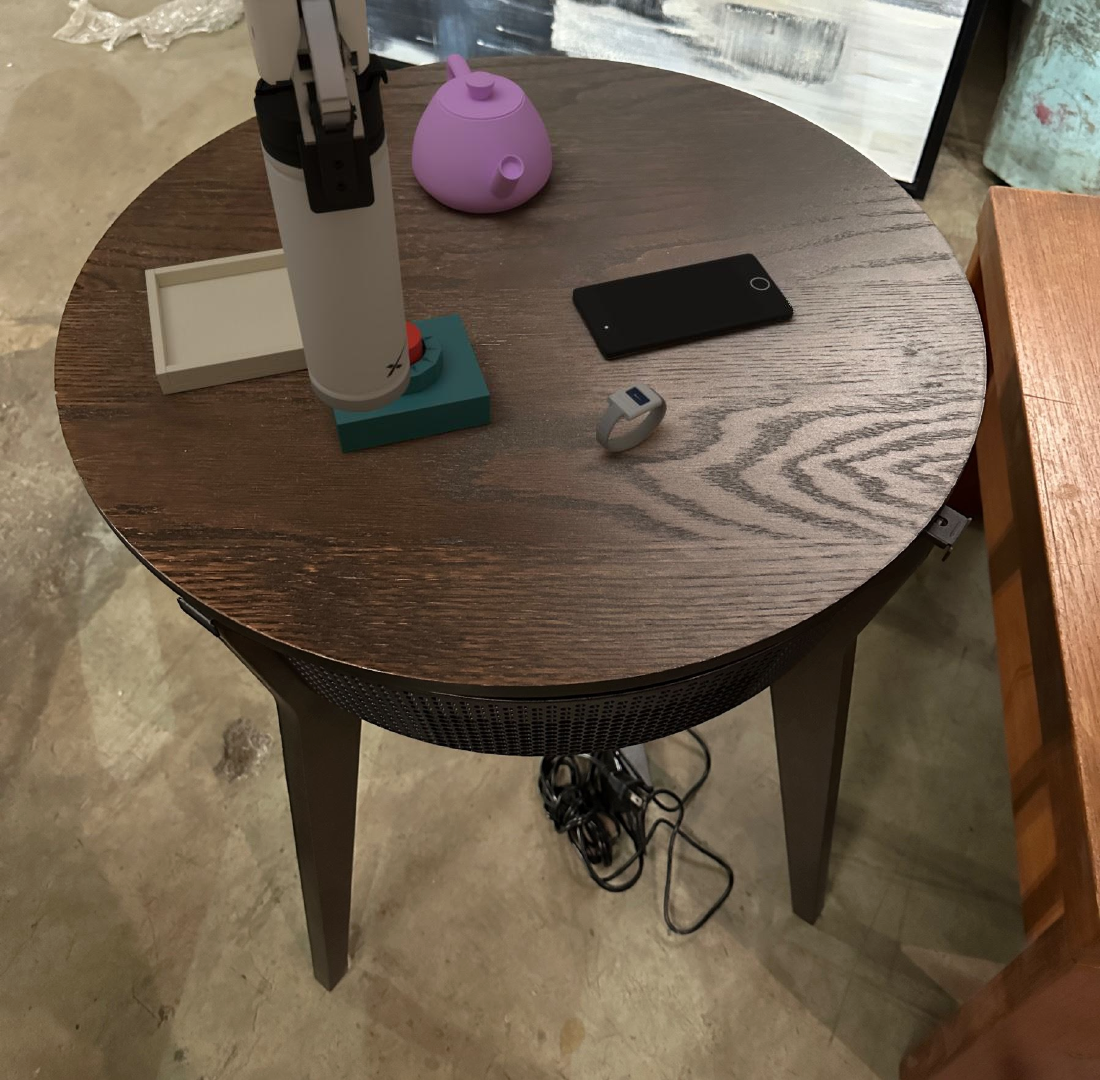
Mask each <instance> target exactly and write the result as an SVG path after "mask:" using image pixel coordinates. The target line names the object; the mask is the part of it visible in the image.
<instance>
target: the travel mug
mask: <svg viewBox="0 0 1100 1080" xmlns="http://www.w3.org/2000/svg"><path fill="white" fill-rule="evenodd" d="M340 54H341V50H340ZM297 57H298V62H299V68H307V67H312V65H311V60H310V55H309V54H301V55H298V56H297ZM341 59H342V56H341ZM342 64H343V62H342ZM355 78H356V85H357V91H358V97H359V103H360V110H361V116H362V122H363V126H365V127H366V130H367V136H368V145H369V153H370V162H371V170H372V179H373V188H374V196H375V202H374V204H373V205H371V206H369V207H364V208H357V209H349V210H342V211H335V212H328V213H320V214H316V213H314V212H312V211H311V209H310V205H309V201H308V196H307V190H306V184H305V178H304V173H303V167H302V161H301V156H300V150H299V144H298V138H297V134H303V133H302V128H301V123H300V117H299V112H298V107H297V101H296V96H295V91H294V85H293V81H292V79H291V77H290V80H282V81H276V85H271V84H269V83H267V82H266V81H265V80H263V79H262V78H261V77H260V78H259V79H258V80H257V81H256V85H255V89H254V97H253V105H254V110H255V111H254V112H255V115H256V120H257V121H256V122H257V126H258V128H259V129H258V130H259V136H260V146H261V150H262V154H263V160H264V164H265V169H266V170H265V171H266V175H267V179H268V185H269V189H270V194H271V198H272V204H273V208H274V212H275V218H276V224H277V227H278V232H279V238H280V242H281V247H282V248H283V252H284V257H285V262H286V266H287V271H288V276H289V281H290V286H291V290H292V295H293V300H294V305H295V310H296V314H297V319H298V324H299V329H300V334H301V338H302V343H303V348H304V353H305V358H306V362H307V367H308V368H307V371H308V376H309V381H310V387H311V389H312V391H313V393H314V395H315V396H316V397H317V398H318V399H319V400H320V401H321V402H323V403H324V404H325V405H327V406H329V407H330V408H331V407H333V408H335V409H338V410H342V411H347V412H367V411H373V410H377V409H380V408H383V407H385V406H387V405H389V404H391V403H393V402H394V401H395V400H397V399H398V398H399V397H400V396H401V395H402V394H403V393H404V392H405V390H406V388H407V387H408V385H409V382H410V378H411V370H410V361H409V351H408V341H407V331H406V322H407V321H406V313H405V303H404V294H403V284H402V274H401V263H400V254H399V244H398V234H397V224H396V215H395V205H394V195H393V186H392V176H391V165H390V156H389V155H390V154H389V147H388V142H387V141H388V136H387V130H386V127H385V120H384V108H383V103H382V98H381V89H380V88H381V87H380V83H381V80H382V82H383V84H384V85H388V84H389V76H388V73H387V69H386V66H385V65H384V63H383V61H382V60H381V58H380V57H379V56H378V54H376V53H371V54H370V53H369V64H368V66H367V67H366V69H365V70H364V71H363V72H362V73H361V74H360V75H357V73H356V71H355ZM306 87H307V92H308V98H309V103H310V109H311V106H312V102H318V101H317V92H316V86H315V83H314V84H306ZM311 110H312V109H311Z"/></svg>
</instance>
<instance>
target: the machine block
mask: <svg viewBox="0 0 1100 1080" xmlns="http://www.w3.org/2000/svg"><path fill="white" fill-rule="evenodd" d="M462 319H463V318H462V317H461V315H460V313H453V314H449V315H443V316H437V317H432V318H427V319H420V320H415V321H408V322H409V323H412V324H414V325H415V326H416V327H417V328H418V329H419V330H420V332H421V340H422V351H423V352H422V356H421V358H420V359H419V361H417V362H416V363H415V364H413V365H411V366H410V370H411V378H410V382H409V385H408V387H407V388H406V390H405V392H404V393H403V394H402V395H401V396H400V397H399V398H398V399H397V400H395V401H394V402H393V403H391V404H389V405H387V406H385V407H383V408H380V409H377V410H373V411H367V412H347V411H342V410H338V409H335V408H333V407H331V406H330V408H331V412H332V416H333V419H334V425H335V428H336V433H337V437H338V440H339V441H338V442H339V444H340V448H341V449H340V450H341V453H343V454H344V453H349V452H354V451H359V450H364V449H365V450H366V449H370V448H374V447H379V446H384V445H390V444H393V443H399V442H404V441H409V440H413V439H419V438H425V437H429V436H435V435H439V434H444V433H449V432H453V431H458V430H463V429H464V430H465V429H468V428H469V429H470V428H474V427H479V426H485V425H488V424H491V423H492V414H491V413H492V411H491V409H492V407H491V393H490V390H489V388H488V385H487V382H486V381H485V377H484V375H483V372H482V369H481V366H480V365H479V362H478V359H477V357H476V354H475V351H474V348H473V346H472V343H471V341H470V338H469V335H468V333H467V330H466V328H465V325H464V322H463V320H462Z"/></svg>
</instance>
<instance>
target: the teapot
mask: <svg viewBox="0 0 1100 1080" xmlns="http://www.w3.org/2000/svg"><path fill="white" fill-rule="evenodd" d="M445 71H446V79H447V81H446V82H445V83H444V84H442V85H441V86H440V87H439V88H438V90H437V91H436V92H435V94H434V95H433V96H432V98H431V100H430V102H429V103H428V105H427V107H426V108H425V110H424V112H423V113H422V115H421V117H420V120H419V122H418V124H417V127H416V130H415V132H414V137H413V141H412V148H411V149H412V150H411V151H412V152H411V166H412V172H413V174H414V176H415V178H416V180H417V181H418V183H419V185H420V186H421V187H422V188H423V189H424V190H425V192H427V193H428V194H429V195H430V196H432V197H433V198H434V199H436V200H437V201H438V202H439V203H441V204H443V205H444V206H446V207H449V208H451V209H454V210H457V211H460V212H464V213H471V214H493V213H501V212H505V211H509V210H512V209H515V208H517V207H519V206H521V205H523V204H525V203H526V202H528V201H529V200H530V199H532V198H533V197H534V196H535V195H536V194H537V193H538V192H539V191H540V190H541V189H542V188H543V187H544V186H545V184H547V182H548V180H549V178H550V176H551V173H552V170H553V152H552V146H551V145H552V144H551V142H550V138H549V133H548V130H547V129H546V125H545V123H544V121H543V119H542V117H541V115H540V114H539V112H538V111H537V109H536V107H535V105H534V104H533V103H532V101H531V99H530V98H529V97H528V95H527V94H526V92H525V91H524V90H523V89H522V88H521V86H519V85H518V84H517V83H516V82H515V81H513V80H511V79H509V78H507V77H504V76H500V75H496V74H492V73H490V72H488V71H483V70H482V71H479V70H478V71H473V72H472V70H471V67H470V66H469V65H468V63H467V61H466V60H465V58H464V57H463V56H462V55H461V54H458V53H451V54H449V55H448V56H447V58H446V61H445Z"/></svg>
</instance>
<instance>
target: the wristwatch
mask: <svg viewBox="0 0 1100 1080" xmlns="http://www.w3.org/2000/svg"><path fill="white" fill-rule="evenodd" d="M606 402H607V404H608V405H610V406H609V407H608V408H607V409H606V410H605V412H604V413H603V415H602V416H601V418H600V420H599V421H598V424H597V427H596V429H595V439H596V441H597V442H598V443H599V444H600V445H601V446H602V447H603V448H604V450H606V451H608V452H610V453H611V452H612V453H620V452H625V451H627V450H630V449H632V448H635V447H636V446H638V445H640V444H641V443H643V442H644V441H645V440H646V439H648V438H649V437H650V436H651V435H652V434H653V433H654V431H655V430H656V429H657V428H658V427H659V426H660V424H661V423H662V421H663V420H664V418H665V416H666V414H667V409H668V407H667V401H666V400H665V399H664V397H662V395H660V393H658V392H657V391H656V390H655V389H654V388H652V387H649V386H648V385H646V383H644V381H642V380H639V381H636V382H634V383H632V384H630V385H628V386H627V387H625V388H623V389H620V390H619V391H616V392H615V393H612V394H611V395H609V396H607V397H606ZM648 412H649V413H648ZM646 413H648V414H647V415H646V416H645V418H644V419H643V420H642V421H641V422H640V423H639V424H638V426H636V427H635V428H634V429H632V430H631V431H630V432H628V433H627V434H625V435H623V436H621V437H618V438H615V439H610V436H611V433H612V431H613V429H614V428H615V426H616V424H617V423H618V421H619V420H620V419H621V418H623V419H624V420H625V421H627V422H628V423H629V422H631V421H633V420H635V419H637V418H639V417H640V416H643V415H644V414H646Z"/></svg>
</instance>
